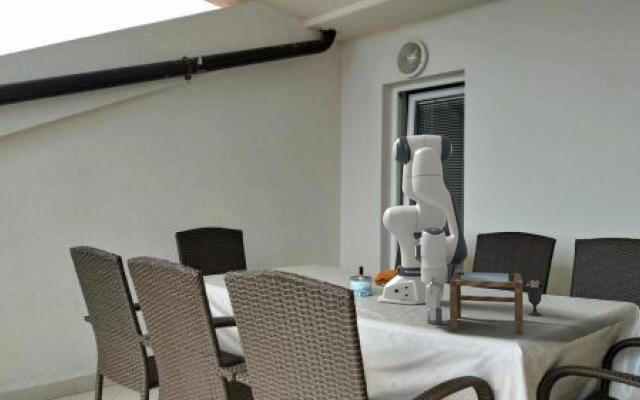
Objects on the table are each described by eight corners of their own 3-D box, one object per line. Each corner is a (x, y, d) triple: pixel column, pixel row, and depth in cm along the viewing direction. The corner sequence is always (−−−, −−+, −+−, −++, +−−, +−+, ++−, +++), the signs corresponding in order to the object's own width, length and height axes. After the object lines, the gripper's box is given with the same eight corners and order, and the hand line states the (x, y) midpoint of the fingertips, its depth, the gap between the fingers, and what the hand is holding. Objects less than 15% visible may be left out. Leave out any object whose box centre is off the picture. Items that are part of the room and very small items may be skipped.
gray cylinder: (426, 324, 199) (426, 309, 199) (428, 321, 204) (427, 306, 204) (441, 325, 197) (441, 310, 197) (442, 322, 202) (442, 307, 202)
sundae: (521, 313, 215) (521, 271, 215) (539, 312, 216) (539, 271, 215) (529, 316, 208) (529, 274, 208) (548, 316, 209) (547, 273, 209)
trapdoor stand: (450, 330, 189) (449, 279, 189) (455, 316, 210) (454, 270, 210) (523, 334, 183) (522, 281, 183) (520, 319, 204) (520, 271, 204)
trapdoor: (463, 287, 191) (463, 279, 191) (466, 277, 208) (466, 270, 208) (508, 289, 187) (508, 281, 187) (508, 278, 204) (508, 271, 203)
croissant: (382, 285, 299) (380, 269, 300) (410, 283, 290) (408, 267, 291) (368, 288, 288) (366, 272, 288) (396, 286, 279) (394, 269, 279)
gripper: (440, 281, 189) (441, 324, 190) (446, 273, 209) (446, 312, 209) (420, 280, 191) (421, 323, 191) (428, 272, 211) (428, 311, 211)
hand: (434, 317), depth 200 cm, fingers open, 8 cm apart
